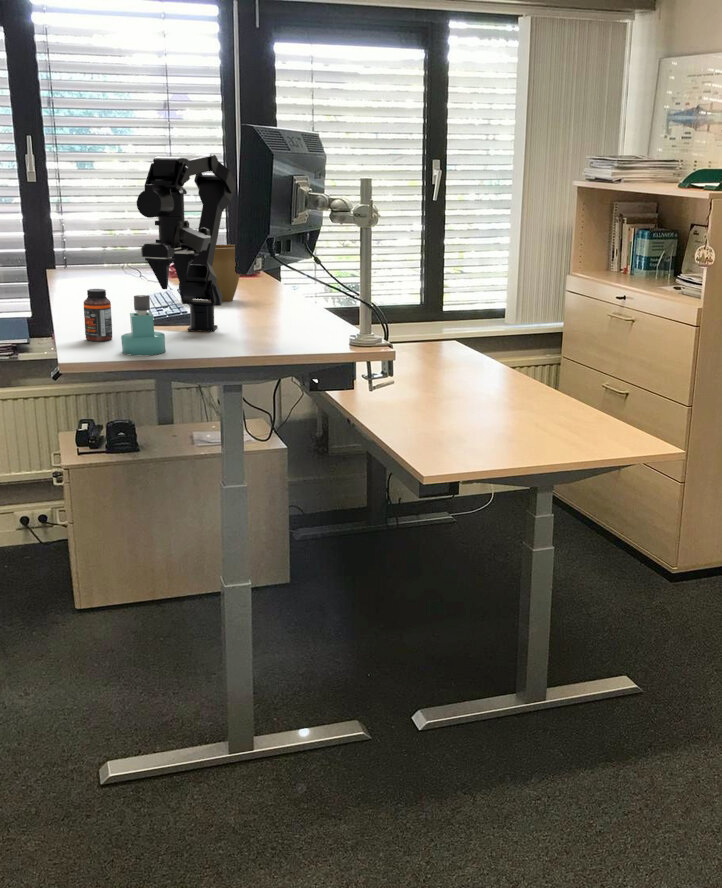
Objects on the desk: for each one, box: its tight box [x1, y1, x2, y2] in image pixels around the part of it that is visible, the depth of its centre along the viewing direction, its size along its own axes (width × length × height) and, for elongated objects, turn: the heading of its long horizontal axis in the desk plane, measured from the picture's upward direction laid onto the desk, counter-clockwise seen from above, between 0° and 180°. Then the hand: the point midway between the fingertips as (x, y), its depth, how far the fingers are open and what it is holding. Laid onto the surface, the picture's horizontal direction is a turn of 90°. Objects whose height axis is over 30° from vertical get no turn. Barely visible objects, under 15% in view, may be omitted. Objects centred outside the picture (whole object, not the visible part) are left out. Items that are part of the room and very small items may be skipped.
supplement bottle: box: [83, 288, 113, 342], centre depth 208 cm, size 6×6×11 cm
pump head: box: [133, 294, 151, 316], centre depth 195 cm, size 3×3×8 cm
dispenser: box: [120, 311, 166, 356], centre depth 196 cm, size 9×9×8 cm
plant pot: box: [210, 244, 241, 303], centre depth 273 cm, size 15×15×16 cm
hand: (173, 286), depth 208 cm, fingers open, 9 cm apart
